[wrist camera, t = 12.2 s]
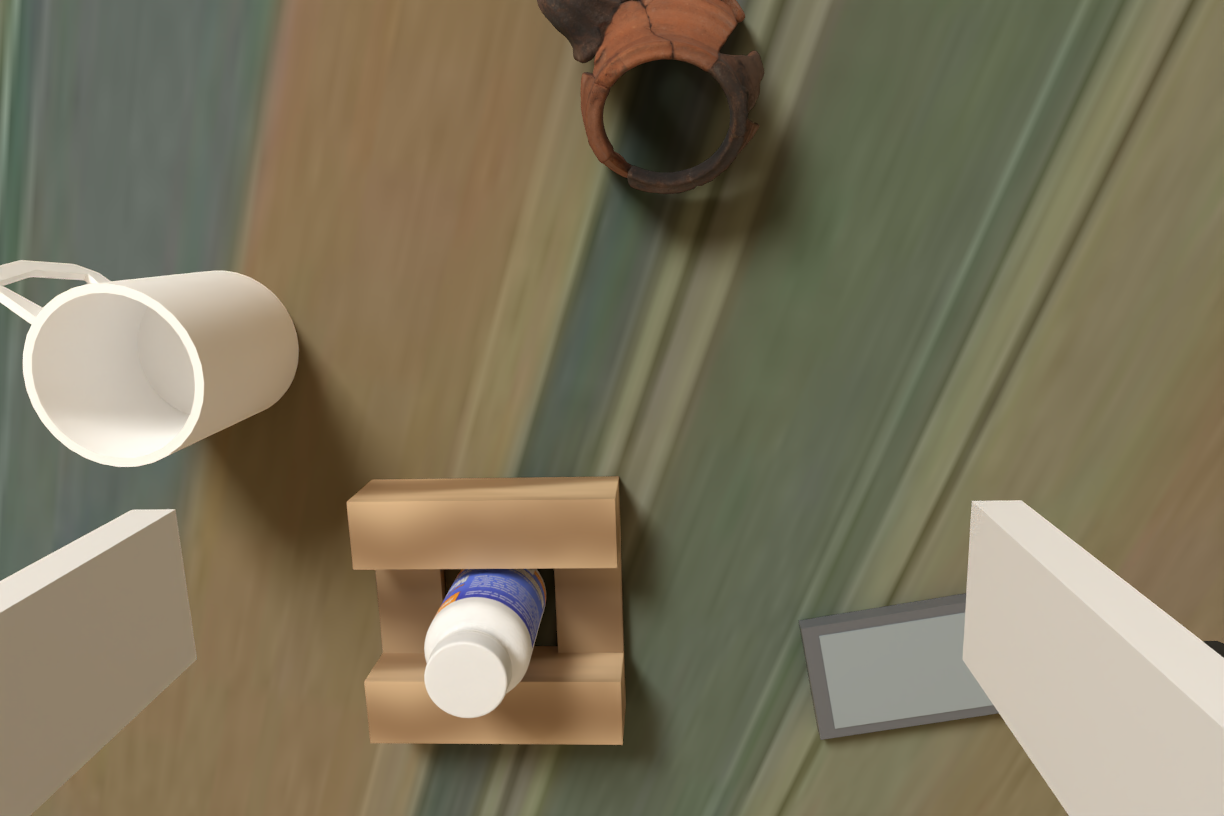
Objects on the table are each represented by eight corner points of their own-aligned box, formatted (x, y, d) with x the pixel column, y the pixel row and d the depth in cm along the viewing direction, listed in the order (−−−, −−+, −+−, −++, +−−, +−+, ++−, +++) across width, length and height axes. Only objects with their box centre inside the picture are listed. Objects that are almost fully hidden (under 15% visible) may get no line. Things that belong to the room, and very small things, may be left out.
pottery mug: (797, 22, 43) (812, 90, 37) (688, 168, 49) (686, 247, 43) (590, -126, 39) (569, -78, 33) (499, 50, 45) (467, 119, 39)
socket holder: (371, 479, 49) (346, 502, 45) (618, 476, 48) (615, 499, 44) (392, 703, 52) (370, 742, 48) (625, 704, 51) (622, 744, 47)
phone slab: (798, 620, 49) (801, 629, 48) (1032, 582, 48) (1040, 590, 47) (817, 729, 50) (821, 740, 49) (1045, 695, 49) (1054, 705, 48)
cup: (142, 196, 46) (1, 188, 36) (327, 331, 47) (238, 360, 37) (70, 317, 48) (-84, 342, 38) (249, 446, 49) (146, 502, 39)
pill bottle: (464, 538, 49) (417, 614, 40) (556, 559, 49) (531, 641, 40) (448, 624, 50) (398, 717, 41) (538, 644, 50) (509, 743, 41)
